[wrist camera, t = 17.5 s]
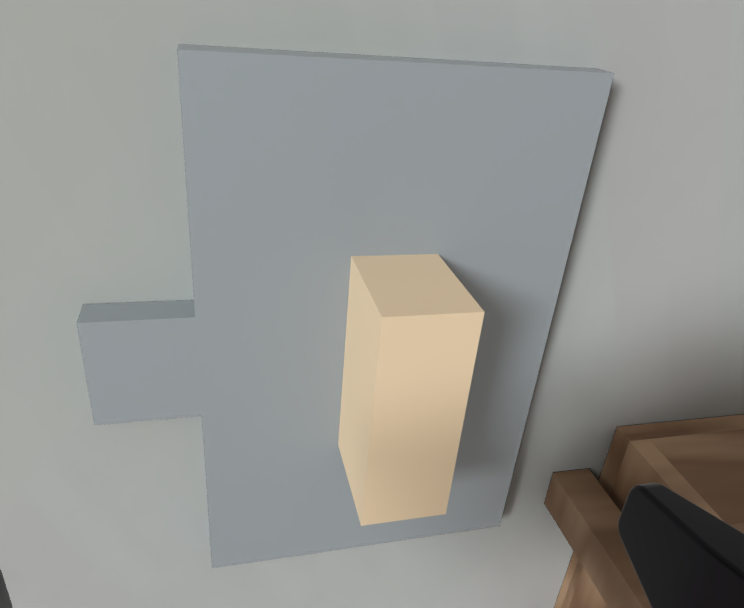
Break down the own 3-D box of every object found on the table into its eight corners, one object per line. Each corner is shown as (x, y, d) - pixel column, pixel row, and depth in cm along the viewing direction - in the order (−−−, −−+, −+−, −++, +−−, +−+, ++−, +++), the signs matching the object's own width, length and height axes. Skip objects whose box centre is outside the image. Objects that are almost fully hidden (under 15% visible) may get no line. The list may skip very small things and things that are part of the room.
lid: (489, 506, 29) (539, 602, 25) (124, 556, 25) (109, 681, 21) (593, 67, 20) (704, 98, 16) (38, 35, 16) (-24, 65, 12)
